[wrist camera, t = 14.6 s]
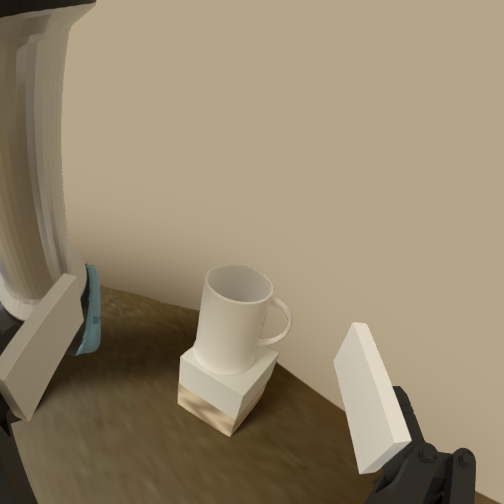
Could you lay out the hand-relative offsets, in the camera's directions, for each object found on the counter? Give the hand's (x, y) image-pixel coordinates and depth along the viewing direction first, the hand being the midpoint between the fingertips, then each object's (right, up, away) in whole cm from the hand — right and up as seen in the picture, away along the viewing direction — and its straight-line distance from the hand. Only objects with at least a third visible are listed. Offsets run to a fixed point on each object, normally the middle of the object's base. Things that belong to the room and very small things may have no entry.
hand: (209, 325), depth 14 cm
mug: (0, -11, +28) cm, 30 cm away
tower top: (-2, -16, +30) cm, 34 cm away
